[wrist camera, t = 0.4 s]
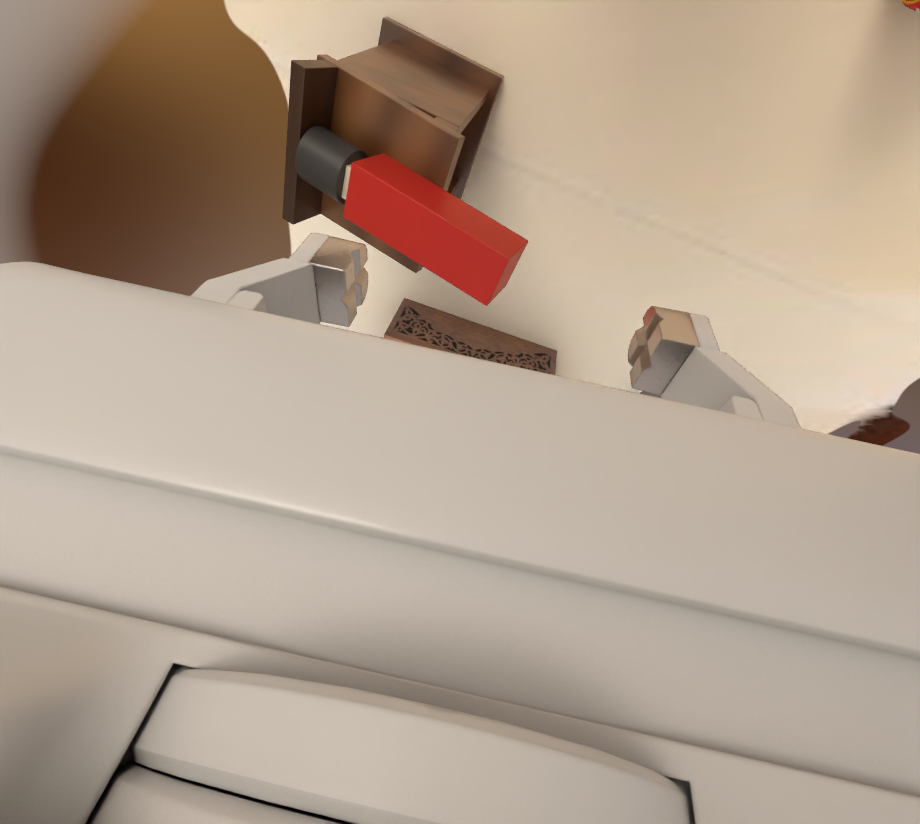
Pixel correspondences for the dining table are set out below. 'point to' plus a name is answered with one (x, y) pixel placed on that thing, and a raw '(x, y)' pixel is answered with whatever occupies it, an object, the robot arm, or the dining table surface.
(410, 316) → the tissue box cover
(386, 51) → the wooden lectern stand
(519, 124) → the dining table surface
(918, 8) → the soda can
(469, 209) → the tall red pillar
